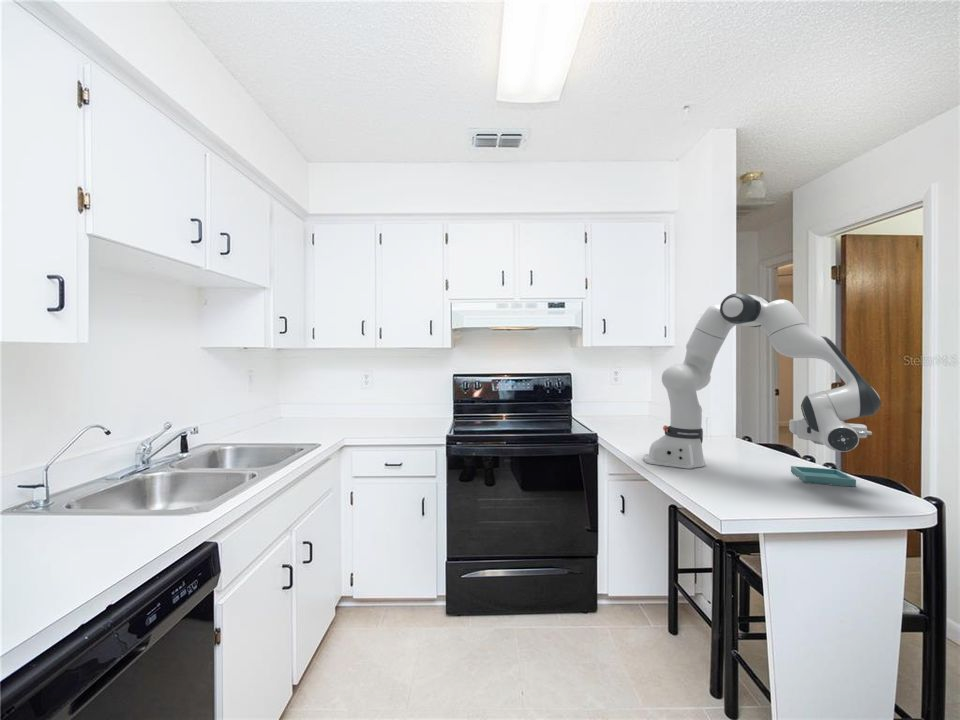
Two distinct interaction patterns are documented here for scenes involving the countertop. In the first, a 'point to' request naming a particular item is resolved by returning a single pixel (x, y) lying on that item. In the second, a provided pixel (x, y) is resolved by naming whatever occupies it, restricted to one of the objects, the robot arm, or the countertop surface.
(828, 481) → the tray
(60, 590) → the countertop surface
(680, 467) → the robot arm
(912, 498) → the countertop surface
